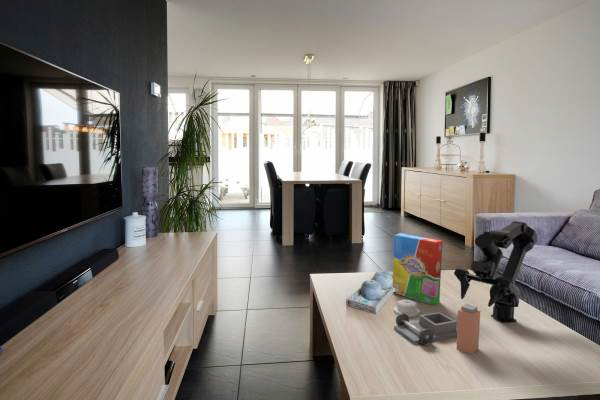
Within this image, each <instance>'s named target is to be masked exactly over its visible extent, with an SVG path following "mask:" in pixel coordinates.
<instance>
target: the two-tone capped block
mask: <svg viewBox="0 0 600 400" xmlns="http://www.w3.org/2000/svg"><path fill="white" fill-rule="evenodd" d="M480 324H481V310H480V309H478V306H476V305H472V304H468V303H465V304H464V305H462V306H461V308H460V309H457V325H458V327H457V336H456V350H459V351H461V352H464V353H467V354H471V355H473V354H474V353H475V352H477V351H478V350H479V346H480V345H479V344H480V342H479V341H480V327H481V325H480Z"/></svg>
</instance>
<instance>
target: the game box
mask: <svg viewBox="0 0 600 400" xmlns="http://www.w3.org/2000/svg"><path fill="white" fill-rule="evenodd" d="M393 239H394V240H393V266H392V288H393V287H394V288H395V293H394V294H396V295H400V296H403V297H405V298H408V299H412V300H416V301H418V302H422V303H424V304H428V305H431V306H435V305H437V304H439V303H440V302H441V300H440V299H441V277H442V275H441V274H442V258H443V256H442V255H443V242H444V240H441V239H435V238H430V237H429V238H428V237H425V236H424V237H421V236H418V235H413V234H412V235H411V234H407V233H403V232H400V233H397V234H394V236H393Z"/></svg>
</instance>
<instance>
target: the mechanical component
mask: <svg viewBox="0 0 600 400" xmlns="http://www.w3.org/2000/svg"><path fill="white" fill-rule="evenodd" d="M396 303H397V304H396V305H395V306H394V307H393V312H394V314H395V315H396V316H398V315H399V314H400V313H405V314H406V315H408V317H409V318H415V317H419V315H421V314H420V309H419V308H418V307H417V302H416V301H414V300H411V299H405V298H404V299H399V300H397V302H396Z"/></svg>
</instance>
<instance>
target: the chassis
mask: <svg viewBox="0 0 600 400" xmlns="http://www.w3.org/2000/svg"><path fill="white" fill-rule="evenodd" d="M395 324H396V325H394V326H393V330H394V331H396V332H397V333H398V334H399V335H401V336H402V337H404V339H406V340H408V341H409V342H410V343H412V344H413V345H417V344H423V345H428V344H430V343H431V342H434V341H439V340H444V339H450V338H454V337H457V327H458V321H456V320H455V319H453V318H451V317H449V316H448V315H445V314H444V313H442V312H440V311H437V312H431V313H425V314H419V315H418V321H416V322H411V323H410V317H408V315H406V314H405V313H400V314H399V315H396V317H395Z"/></svg>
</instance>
